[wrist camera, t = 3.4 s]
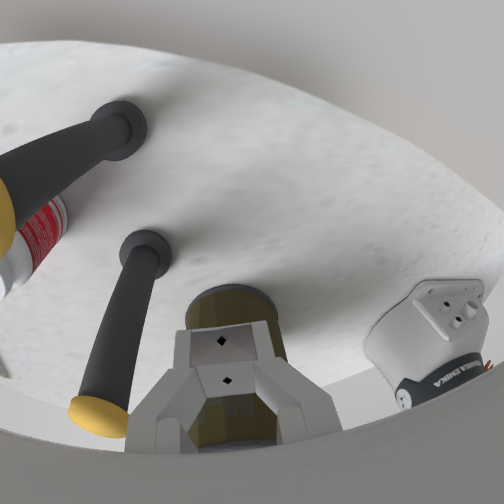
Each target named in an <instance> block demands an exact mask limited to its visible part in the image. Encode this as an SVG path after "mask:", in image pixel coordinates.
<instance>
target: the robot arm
mask: <svg viewBox="0 0 504 504" xmlns="http://www.w3.org/2000/svg"><path fill="white" fill-rule="evenodd" d="M483 292H484V285H483V283H482V282H481V280H449V281H423V282H421V283H420V284H418V285H417V286H416V287H415V289H414V290H413V291H412V292H411V293H410V294H409V296H408V297H407V298H406V299H405V300H404V301H403V302H401V303H400V304H399V305H397V306H396V307H394V308H393V309H392V310H390V311H389V312H388V313H387V314H386V315H385V316H384V317H383V318H382V319H381V320H380V321H379V322H378V323H377V324H376V325H375V327H374V328H373V329H372V331H371V332H370V334H369V336H368V338H367V340H366V343H365V355H366V357H367V358H368V359H369V360H370V361H371V362H372V363H373V364H374V365H375V366H376V367H377V369H378V370H379V371H380V372H381V374H382V375H383V376H384V378H385V379H386V380H387V382H388V383H389V385H390V386H391V388H392V389H393V391H394V393H395V398H396V400H397V403H398V406H399V408H400V411H401V412H399V413H397V414H394V415H391V416H389V417H386V418H383V419H380V420H377V421H374V422H371V423H368V424H365V425H362V426H358V427H355V428H352V429H348V430H344V431H343V429H342V426H341V423H340V420H339V418H338V415H337V412H336V409H335V406H334V403H333V400H332V397H331V396H330V395H329V394H327V393H326V392H325V391H323V390H322V389H321V388H319V387H318V386H317V385H315V384H314V383H313V382H312V381H310V380H309V379H308V378H306V377H305V376H304V375H302V374H301V373H300V372H299V371H297V370H296V369H295V368H293V367H292V366H291V365H290V364H288V363H287V362H286V361H285V360H283V359H282V358H281V357H275V354H274V350H273V346H272V342H271V337H270V333H269V329H268V325H267V322H266V321H265V320H264V321H258V322H251V323H244V324H237V325H229V326H222V327H213V328H201V329H192V330H178V331H177V332H176V336H175V348H174V361H173V369H168V370H167V372H166V373H165V374H164V375H163V376H162V378H161V379H160V380H159V381H158V382H157V384H156V385H155V386H154V387H153V388H152V389H151V391H150V392H149V393H148V394H147V395H146V397H145V398H144V399H143V400H142V401H141V403H140V404H139V405H138V406H137V407H136V408H135V410H134V411H133V412H132V413H131V414H130V416H129V417H128V424H127V432H126V441H125V451H124V452H115V451H106V450H97V449H89V448H82V447H76V446H70V445H65V444H60V443H55V442H49V441H45V440H41V439H37V438H33V437H29V436H25V435H21V434H18V433H14V432H11V431H8V430H5V429H1V428H0V504H504V361H503V362H501V363H500V364H498V365H496V366H495V367H493V365H492V366H491V367H490V368H489V369H488V366H489V364H490V362H491V361H490V360H489V361H488V362H487V364H486V365H485V367H484V365H483V361H482V357H481V354H480V353H481V350H482V346H483V343H484V339H485V336H486V332H487V329H488V324H489V318H488V314H487V311H486V310H485V308H484V307H483V305H482V304H481V301H482V297H483ZM492 367H493V368H492ZM247 393H256V394H257V395H258V396H259V397H260V398H261V399H262V400H263V401H264V402H265V404H266V405H267V406H268V407H269V408H270V409H271V410H272V411H273V412H274V413H275V414H276V415H277V445H276V446H270V447H263V448H256V449H248V450H239V451H229V452H216V453H199V454H198V449H197V448H196V446H195V445H194V443H193V442H192V440H191V439H190V437H189V436H188V434H187V432H188V430H189V429H190V427H191V425H192V423H193V422H194V420H195V418H196V417H197V415H198V413H199V412H200V410H201V408H202V406H203V405H204V403H205V401H206V398H211V397H220V396H228V395H237V394H247Z"/></svg>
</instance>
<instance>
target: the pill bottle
mask: <svg viewBox="0 0 504 504" xmlns="http://www.w3.org/2000/svg"><path fill="white" fill-rule="evenodd" d="M66 227H67V212H66V209H65V206H64V204H63V202H62V200H61V199H60V197H59V196H58V195H57V196H55V197H54V198H53V199H52V200H51V201H49V202H48V203H47V204H46V205H45V206H44V207H42V208H41V209H40V210H39V211H38V212H37V213H36V214H35V215H33V216H32V217H31V218H30V219H29V220H28V221H27V222H26V223H25V224H24V225H23V226H22V227H20V228H19V229H18V230H17V231H16V232H15V237H14V241H13V244H12V246H11V248H10V249H9V250H8V252H7V253H6V254H5V255H4V256H3V257H2V258H1V259H0V302H1V301H2V300H3V299H4V298H5V297H6V295H7V294H8V293H9V292H10V290H11V288H18V287H20V286H22V285H24V284H25V283H26V282H27V281H28V279H29V278H30V277H31V276H32V274H33V273H34V272H35V270H36V269H37V267H38V266H39V265H40V264H41V262H42V261H43V260H44V258H45V257H46V256H47V255H48V253H49V252H50V251H51V250H52V248H53V247H54V246H55V245H56V244H57V242H58V241H59V240H60V239H61V237H62V236H63V235H64V233H65V231H66Z"/></svg>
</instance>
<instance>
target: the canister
mask: <svg viewBox="0 0 504 504" xmlns="http://www.w3.org/2000/svg"><path fill="white" fill-rule="evenodd" d="M264 320H265V321H266V322H267V325H268V329H269V333H270V337H271V342H272V346H273V350H274V354H275V357H281V358H282V359H283V360H285V361H286V362H287V363H288V361H287V357H286V353H285V349H284V345H283V341H282V337H281V333H280V329H279V325H278V315H277V309H276V307H275V305H274V304H273V302H272V301H271V300H270V298H269V297H268V296H266V295H265V294H264V293H262V292H260V291H259V290H257V289H255V288H251V287H247V286H241V285H224V286H220V287H216V288H213V289H210V290H208V291H205V292H203V293H202V294H200V295H199V296H197V297H196V298H195V299H194V300H193V301H192V303H191V304H190V305H189V307H188V310H187V312H186V317H185V325H186V330H192V329H201V328H213V327H222V326H229V325H237V324H244V323H251V322H258V321H264ZM187 434H188V436H189V437H190V439H191V440H192V442H193V443H194V445H195V446H196V448H197V449H198V454H199V453H216V452H229V451H239V450H248V449H256V448H263V447H270V446H276V445H277V415H276V414H275V413H274V412H273V411H272V410H271V409H270V408H269V407H268V406H267V405H266V404H265V402H264V401H263V400H262V399H261V398H260V397H259V396H258V395H257V394H256V393H247V394H237V395H228V396H220V397H211V398H206V401H205V403H204V405H203V406H202V408H201V410H200V412H199V413H198V415H197V417H196V418H195V420H194V422H193V423H192V425H191V427H190V429H189V430H188V432H187Z"/></svg>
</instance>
